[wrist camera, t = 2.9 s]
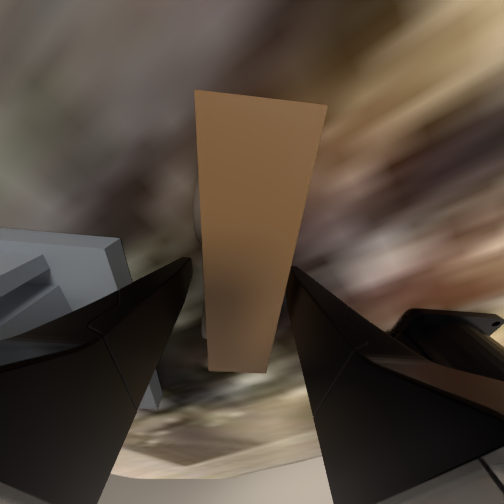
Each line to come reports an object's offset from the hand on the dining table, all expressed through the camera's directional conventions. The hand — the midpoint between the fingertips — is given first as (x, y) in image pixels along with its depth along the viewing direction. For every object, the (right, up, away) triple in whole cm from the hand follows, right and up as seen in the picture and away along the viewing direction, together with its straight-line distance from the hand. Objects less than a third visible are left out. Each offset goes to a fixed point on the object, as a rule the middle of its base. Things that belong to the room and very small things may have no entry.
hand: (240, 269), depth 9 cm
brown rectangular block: (0, +1, +1) cm, 1 cm away
